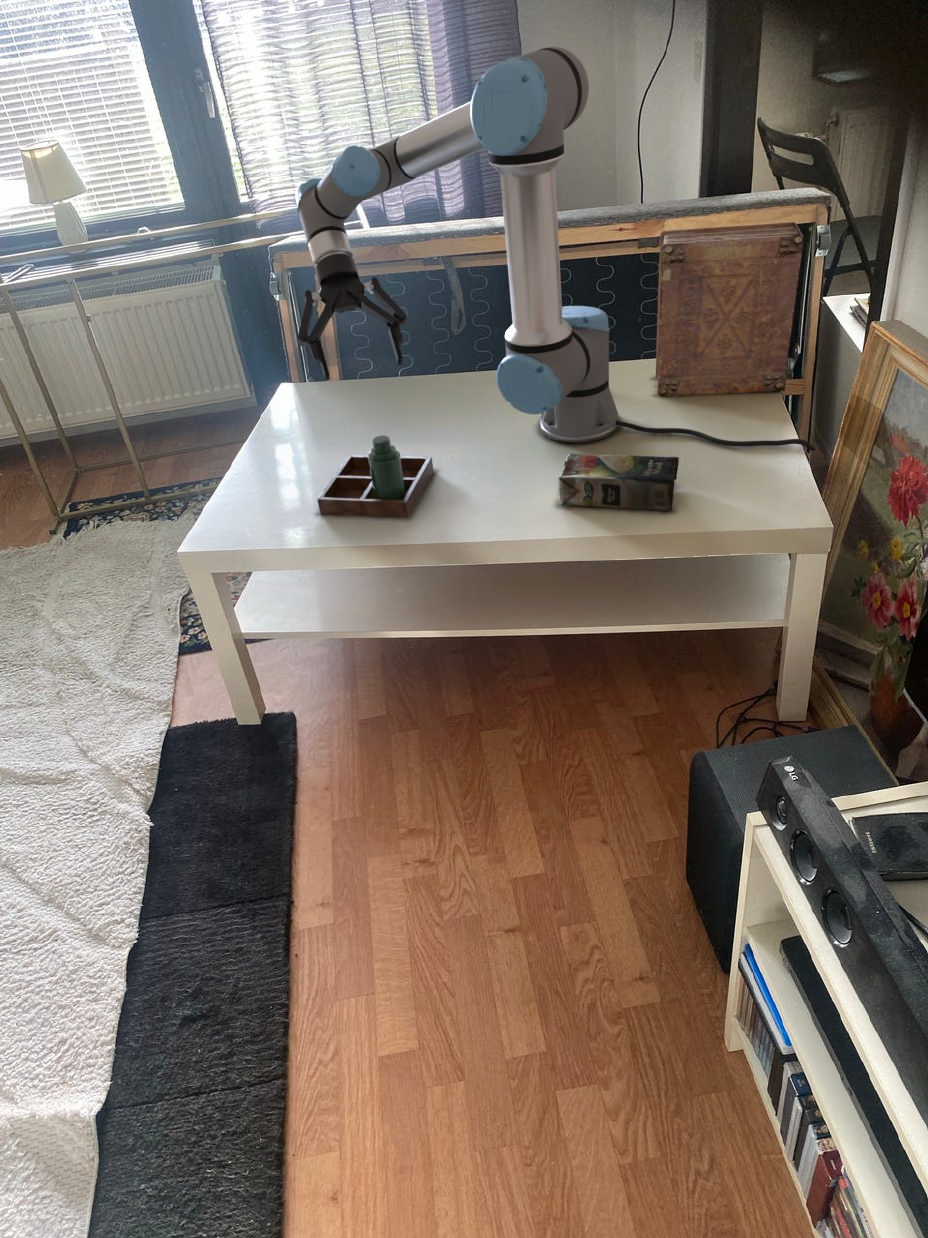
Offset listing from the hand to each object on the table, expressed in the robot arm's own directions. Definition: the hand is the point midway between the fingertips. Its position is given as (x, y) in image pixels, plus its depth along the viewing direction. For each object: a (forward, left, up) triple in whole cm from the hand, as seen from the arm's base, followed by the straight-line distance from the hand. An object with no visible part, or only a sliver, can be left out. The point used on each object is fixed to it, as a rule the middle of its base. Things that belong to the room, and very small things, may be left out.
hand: (364, 369), depth 164 cm
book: (-62, -36, -19) cm, 75 cm away
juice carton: (-47, +10, -19) cm, 51 cm away
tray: (-3, +12, -19) cm, 22 cm away
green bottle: (-7, +15, -18) cm, 25 cm away
